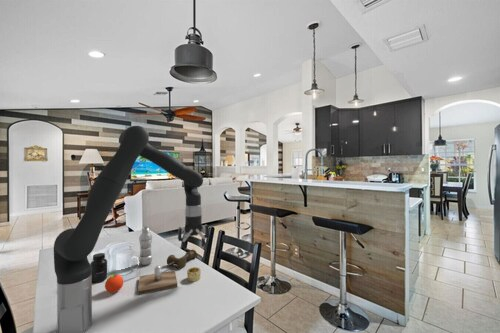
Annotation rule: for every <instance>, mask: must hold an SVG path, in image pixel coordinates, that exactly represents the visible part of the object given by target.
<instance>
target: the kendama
mask: <svg viewBox="0 0 500 333" xmlns="http://www.w3.org/2000/svg"><path fill="white" fill-rule="evenodd" d="M197 255H198V254H197V251H196V250H195V249H190V250H189V252H188V251H187V252H185V254H184V255H182V256H181V257H180V258H178V257H176V256H175V255H174V254H170V255H169V256H168V257H167V258H166V264H167V265H166V266H167V267H169V266H173V265H175V266H177V268H178V269H179V270H182V269H184V268H185V267H186V266H187V260H188V261H189V260H191V259H196V258H197Z"/></svg>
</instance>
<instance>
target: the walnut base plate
mask: <svg viewBox="0 0 500 333" xmlns="http://www.w3.org/2000/svg"><path fill="white" fill-rule="evenodd" d="M161 278H162V279H161V280H160V281H155V275H154V273H151V274H145V275H140V276H139V281H138V286H137V287H138V288H137V296H138V295H144V294H148V293H154V292H159V291H164V290H170V289H174V288H178V279H177V275H176V270H175V269H174V270H168V271H163V272H162V271H161Z"/></svg>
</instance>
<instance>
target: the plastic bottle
mask: <svg viewBox="0 0 500 333" xmlns="http://www.w3.org/2000/svg"><path fill="white" fill-rule="evenodd" d="M138 240H139V248H140V250H139V256H138V262H140V263H139V265H140V266H147V265H150V264H151V263H152V261H153V256H152V243H153V234H152V233H151V232H150V227H149V226H144V227H141V234H140V236H139V238H138Z"/></svg>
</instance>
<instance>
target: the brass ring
mask: <svg viewBox="0 0 500 333" xmlns="http://www.w3.org/2000/svg"><path fill="white" fill-rule="evenodd" d="M186 277H187V278H186V279H187V281H188V282H192V283H193V282H197V281H200V279H201V268H200V267H195V266H194V267H190V268H188V269H187V270H186Z"/></svg>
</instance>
